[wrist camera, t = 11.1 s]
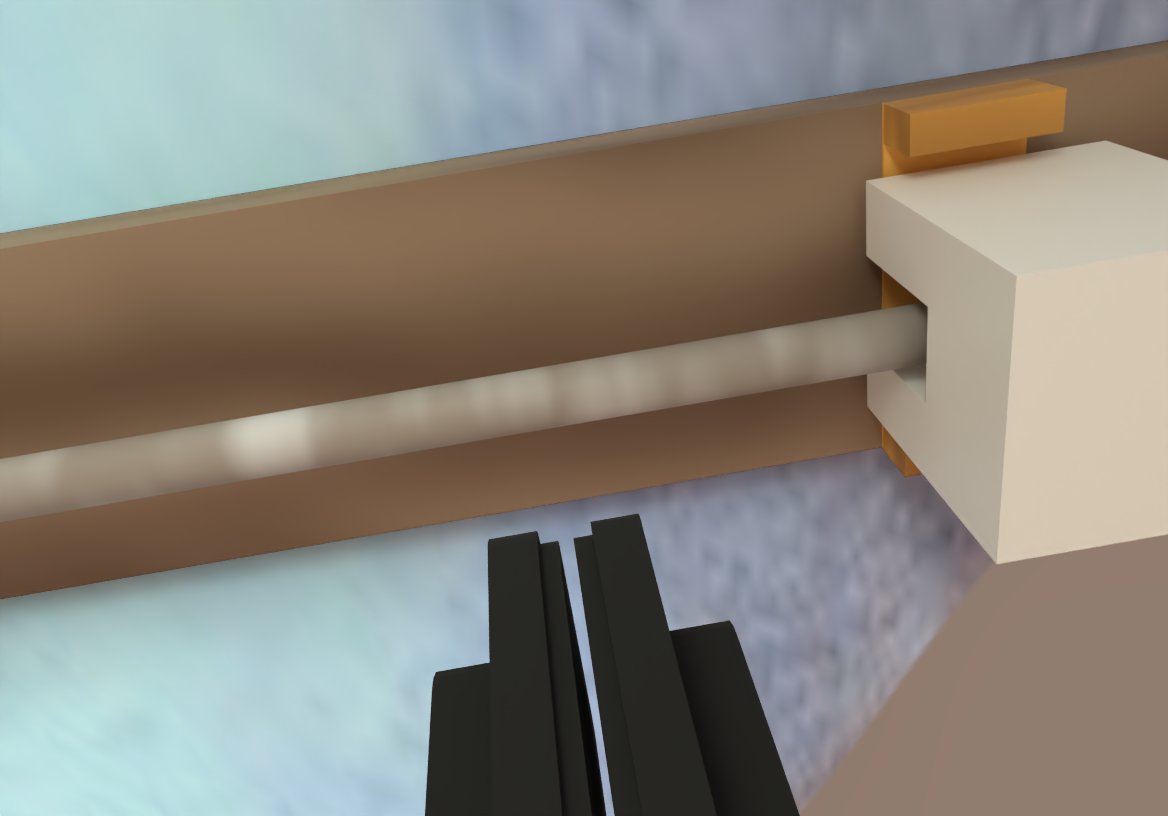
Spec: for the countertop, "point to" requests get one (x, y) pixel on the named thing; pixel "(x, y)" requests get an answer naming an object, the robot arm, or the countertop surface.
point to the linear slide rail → (488, 324)
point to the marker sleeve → (1034, 343)
